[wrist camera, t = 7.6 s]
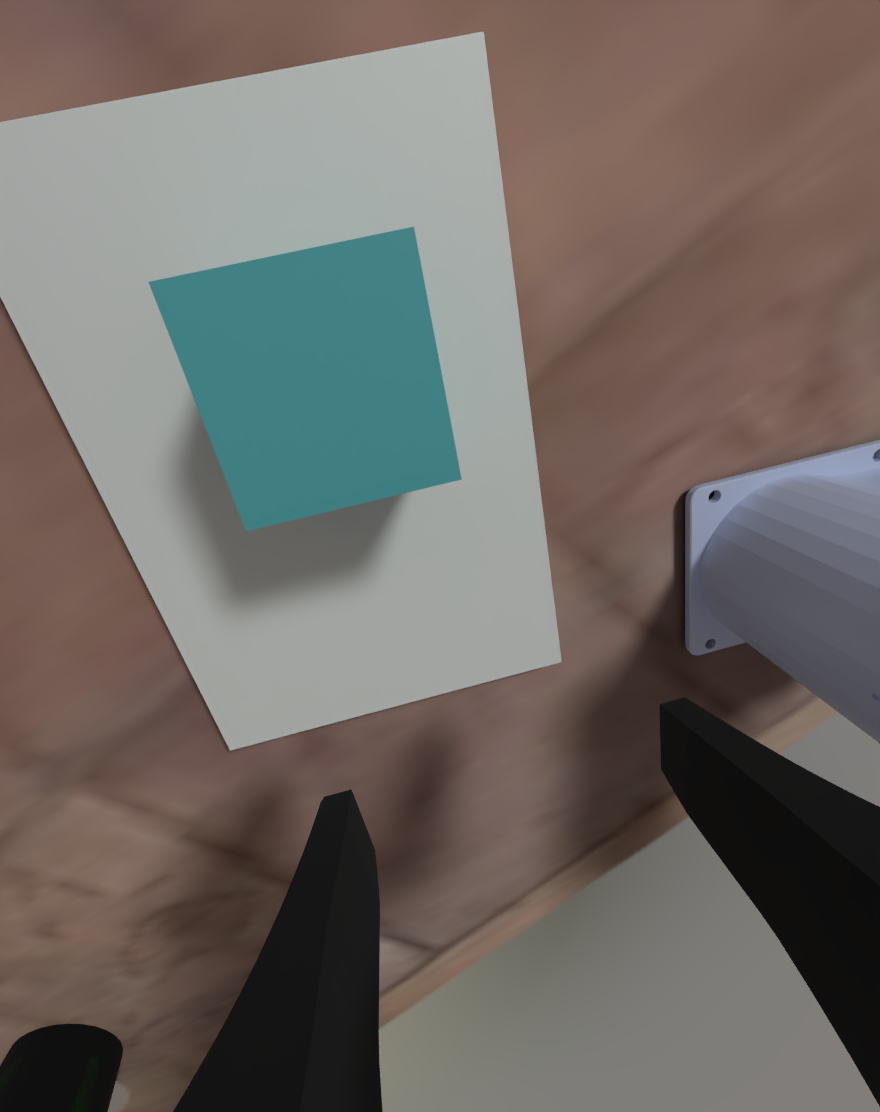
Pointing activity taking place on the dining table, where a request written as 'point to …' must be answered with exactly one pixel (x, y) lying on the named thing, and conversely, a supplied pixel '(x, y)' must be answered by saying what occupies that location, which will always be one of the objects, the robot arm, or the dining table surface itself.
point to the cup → (60, 1070)
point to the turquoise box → (315, 375)
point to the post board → (175, 422)
